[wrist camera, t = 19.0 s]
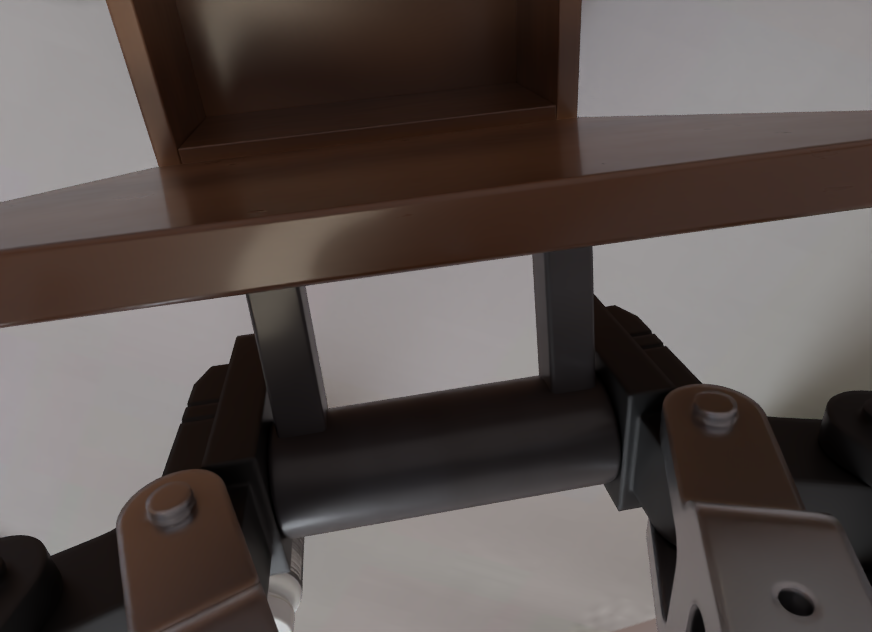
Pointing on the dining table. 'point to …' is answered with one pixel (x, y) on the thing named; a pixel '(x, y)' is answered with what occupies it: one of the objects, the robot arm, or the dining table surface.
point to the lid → (416, 250)
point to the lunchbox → (341, 70)
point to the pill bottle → (287, 589)
